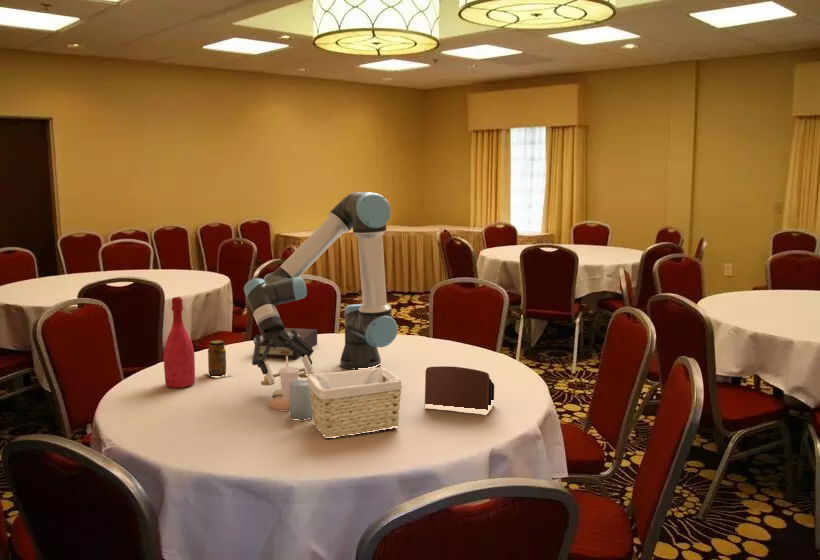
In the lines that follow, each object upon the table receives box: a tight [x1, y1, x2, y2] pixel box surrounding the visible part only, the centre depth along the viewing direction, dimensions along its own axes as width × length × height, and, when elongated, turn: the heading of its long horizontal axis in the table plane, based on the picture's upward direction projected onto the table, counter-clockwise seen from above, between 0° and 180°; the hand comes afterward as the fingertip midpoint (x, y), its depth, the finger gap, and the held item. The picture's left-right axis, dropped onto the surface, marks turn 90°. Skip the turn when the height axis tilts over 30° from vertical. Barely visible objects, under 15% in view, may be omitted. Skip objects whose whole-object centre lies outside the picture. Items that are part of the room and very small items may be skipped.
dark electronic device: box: [259, 327, 318, 360], centre depth 288 cm, size 19×8×30 cm
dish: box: [269, 395, 290, 412], centre depth 222 cm, size 12×12×1 cm
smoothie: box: [278, 356, 301, 402], centre depth 221 cm, size 6×6×14 cm
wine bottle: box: [163, 296, 196, 389], centre depth 238 cm, size 10×10×30 cm
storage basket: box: [307, 366, 403, 437], centre depth 202 cm, size 24×16×15 cm
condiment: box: [207, 339, 234, 379], centre depth 252 cm, size 7×8×12 cm
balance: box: [260, 367, 308, 398], centre depth 231 cm, size 16×5×9 cm, turn 93°
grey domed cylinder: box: [289, 379, 313, 421], centre depth 210 cm, size 7×7×10 cm
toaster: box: [424, 365, 495, 410], centre depth 220 cm, size 10×20×14 cm, turn 73°
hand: (292, 378), depth 219 cm, fingers open, 13 cm apart
